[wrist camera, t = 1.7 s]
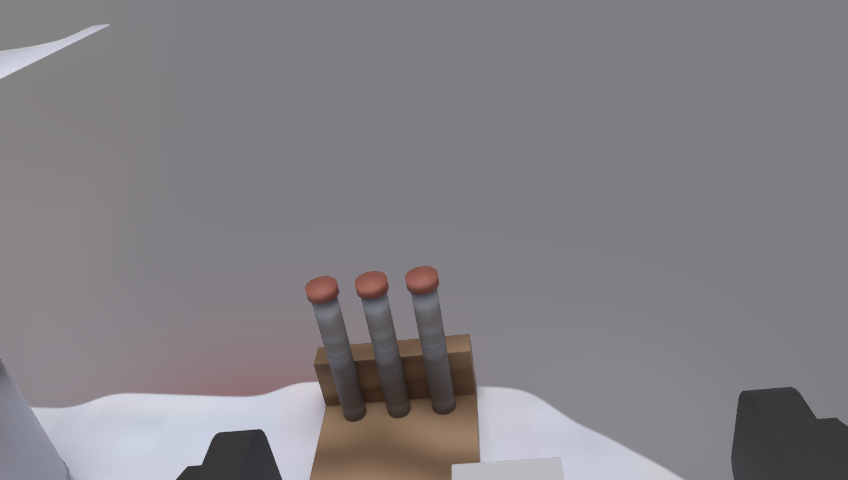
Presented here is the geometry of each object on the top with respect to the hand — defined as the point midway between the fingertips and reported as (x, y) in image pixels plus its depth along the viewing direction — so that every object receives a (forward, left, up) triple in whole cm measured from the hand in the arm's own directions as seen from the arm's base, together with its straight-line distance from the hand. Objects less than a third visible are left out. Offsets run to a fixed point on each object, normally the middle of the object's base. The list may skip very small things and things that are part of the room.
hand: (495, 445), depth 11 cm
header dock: (+2, +24, -28) cm, 37 cm away
